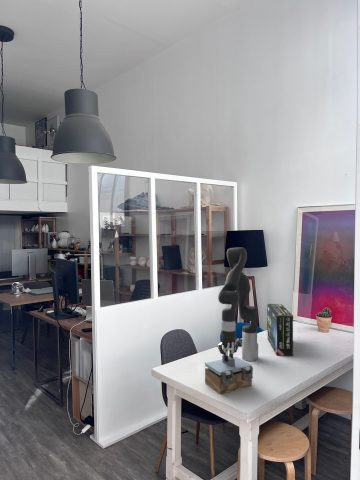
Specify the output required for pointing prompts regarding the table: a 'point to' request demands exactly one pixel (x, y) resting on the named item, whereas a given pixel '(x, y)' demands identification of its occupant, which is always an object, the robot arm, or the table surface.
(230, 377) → the brown wooden open box
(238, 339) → the disk drive
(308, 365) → the table surface
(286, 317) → the router box
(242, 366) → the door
